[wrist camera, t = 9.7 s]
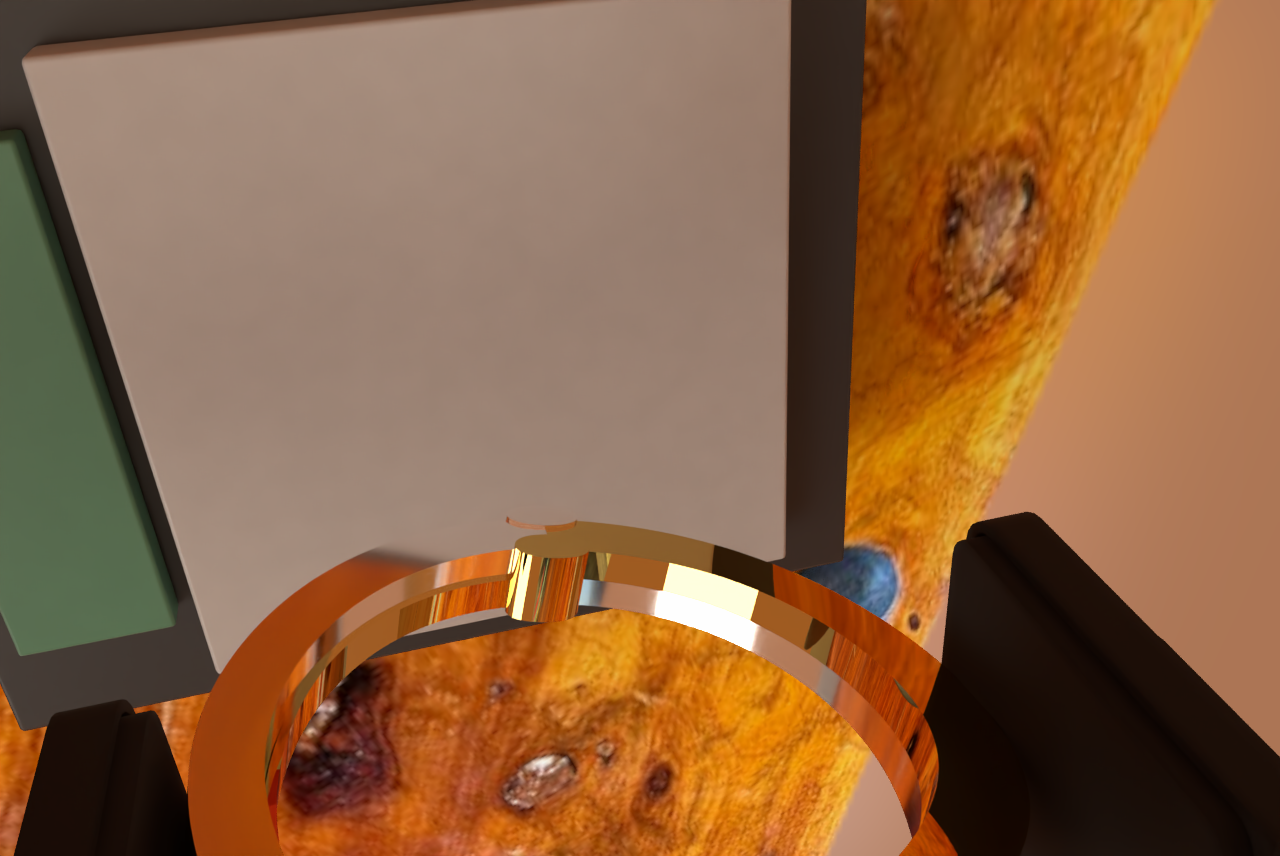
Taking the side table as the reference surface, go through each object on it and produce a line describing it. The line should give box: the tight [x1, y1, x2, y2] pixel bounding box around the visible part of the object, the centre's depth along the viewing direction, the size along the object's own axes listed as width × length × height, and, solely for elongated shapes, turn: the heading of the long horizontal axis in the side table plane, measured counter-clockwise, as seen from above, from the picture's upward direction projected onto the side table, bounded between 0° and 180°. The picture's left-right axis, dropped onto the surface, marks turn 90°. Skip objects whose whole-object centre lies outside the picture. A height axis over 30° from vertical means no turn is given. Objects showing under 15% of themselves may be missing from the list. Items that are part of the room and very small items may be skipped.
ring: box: [185, 506, 1030, 856], centre depth 10 cm, size 7×3×8 cm, turn 79°
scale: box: [0, 0, 867, 731], centre depth 19 cm, size 15×12×4 cm
